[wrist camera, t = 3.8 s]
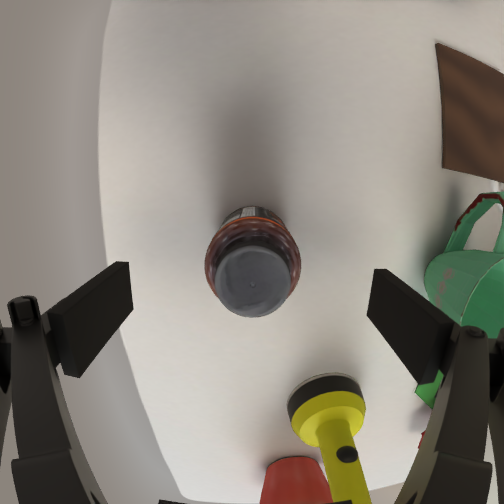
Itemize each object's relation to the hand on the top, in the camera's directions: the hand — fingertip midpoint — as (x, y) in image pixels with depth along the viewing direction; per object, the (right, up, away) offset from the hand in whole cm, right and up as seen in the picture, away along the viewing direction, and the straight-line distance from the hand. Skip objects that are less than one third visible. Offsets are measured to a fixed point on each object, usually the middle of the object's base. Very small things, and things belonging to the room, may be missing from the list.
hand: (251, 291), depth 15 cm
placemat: (+25, +17, +7) cm, 31 cm away
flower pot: (+6, -30, +20) cm, 36 cm away
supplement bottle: (0, +3, +11) cm, 12 cm away
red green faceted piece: (+29, -16, +16) cm, 37 cm away
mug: (+20, +2, +12) cm, 24 cm away
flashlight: (+9, -15, +16) cm, 24 cm away
